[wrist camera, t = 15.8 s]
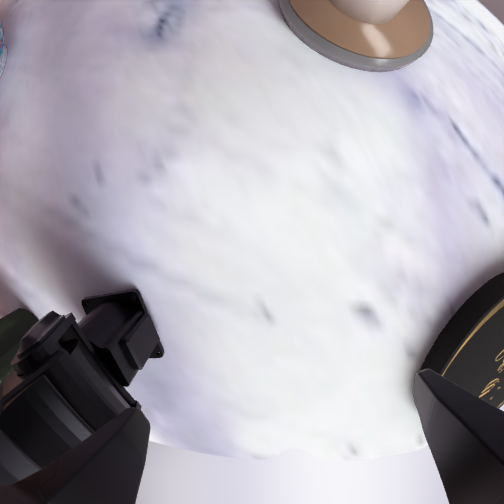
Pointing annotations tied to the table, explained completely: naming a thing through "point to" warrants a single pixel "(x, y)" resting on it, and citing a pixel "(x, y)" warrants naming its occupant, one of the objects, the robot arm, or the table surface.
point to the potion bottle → (13, 337)
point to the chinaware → (2, 50)
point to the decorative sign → (474, 345)
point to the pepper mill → (370, 9)
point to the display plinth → (361, 34)
